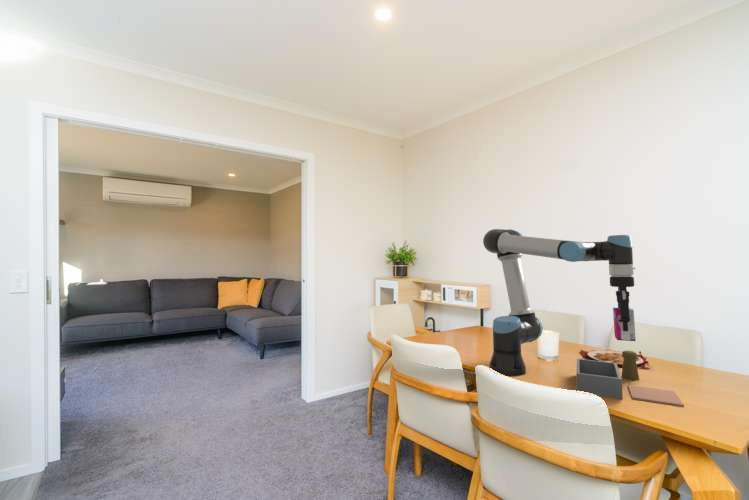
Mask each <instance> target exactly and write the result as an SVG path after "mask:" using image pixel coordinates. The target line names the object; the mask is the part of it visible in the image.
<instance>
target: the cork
mask: <svg viewBox="0 0 749 500" xmlns="http://www.w3.org/2000/svg"><path fill="white" fill-rule="evenodd" d="M621 352H622V357H623V358H624V361H623V367H621V378H622V379H625V380H627V381H628V380H629V381H639V380H640V376H639V368H638V367H637V364H636V359H637V355H638V354H637V352H636V351H633V350H623V351H621Z"/></svg>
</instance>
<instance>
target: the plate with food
mask: <svg viewBox="0 0 749 500" xmlns="http://www.w3.org/2000/svg"><path fill="white" fill-rule="evenodd" d="M580 352H581V355H582V357H583V358H582V359H585V360H594V361H603V362H612V363H617V366H618V369H620V368H623V361H624V358H623V357H622V352H623V351H616V350H609V349H603V350H602V349H598V350H597V349H596V350H590V351H585V350H582V349H580ZM636 354H637V359H636V364H637V368H639V370H645V371H646V370H649V369H650V370H649V371H651V368H649V367H648V366H649V364H650V362H649V361H647V357H644V355H642V352H641V350H639V351H638V353H637V352H636ZM646 366H647V367H646Z"/></svg>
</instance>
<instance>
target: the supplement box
mask: <svg viewBox="0 0 749 500" xmlns="http://www.w3.org/2000/svg"><path fill="white" fill-rule="evenodd" d="M612 312H613V329H614V338H615V339H616V340H617V341H622V340H621V326H620V322H619V321H618V320H620V319H621V316H620V308H618V307H612ZM629 318H630V321H629V324H630V340H623V341H624V342H625V341H627V342H636V327H635V325H636V324H635V311H634V309H633V308H631V307H629Z"/></svg>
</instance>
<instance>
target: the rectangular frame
mask: <svg viewBox="0 0 749 500" xmlns="http://www.w3.org/2000/svg"><path fill="white" fill-rule="evenodd" d="M619 369H620V368H618V366H617V363H612V362H603V361H594V360H586V358H576V373H575V374H576V377H575V378H576V391H577V390H579V391H584V392H589V393H593V394H596V395H595V396H598V397H605V398H612V399H619V400H623V378H622V377H621V376H622V374H621V372H620V370H619Z"/></svg>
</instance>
